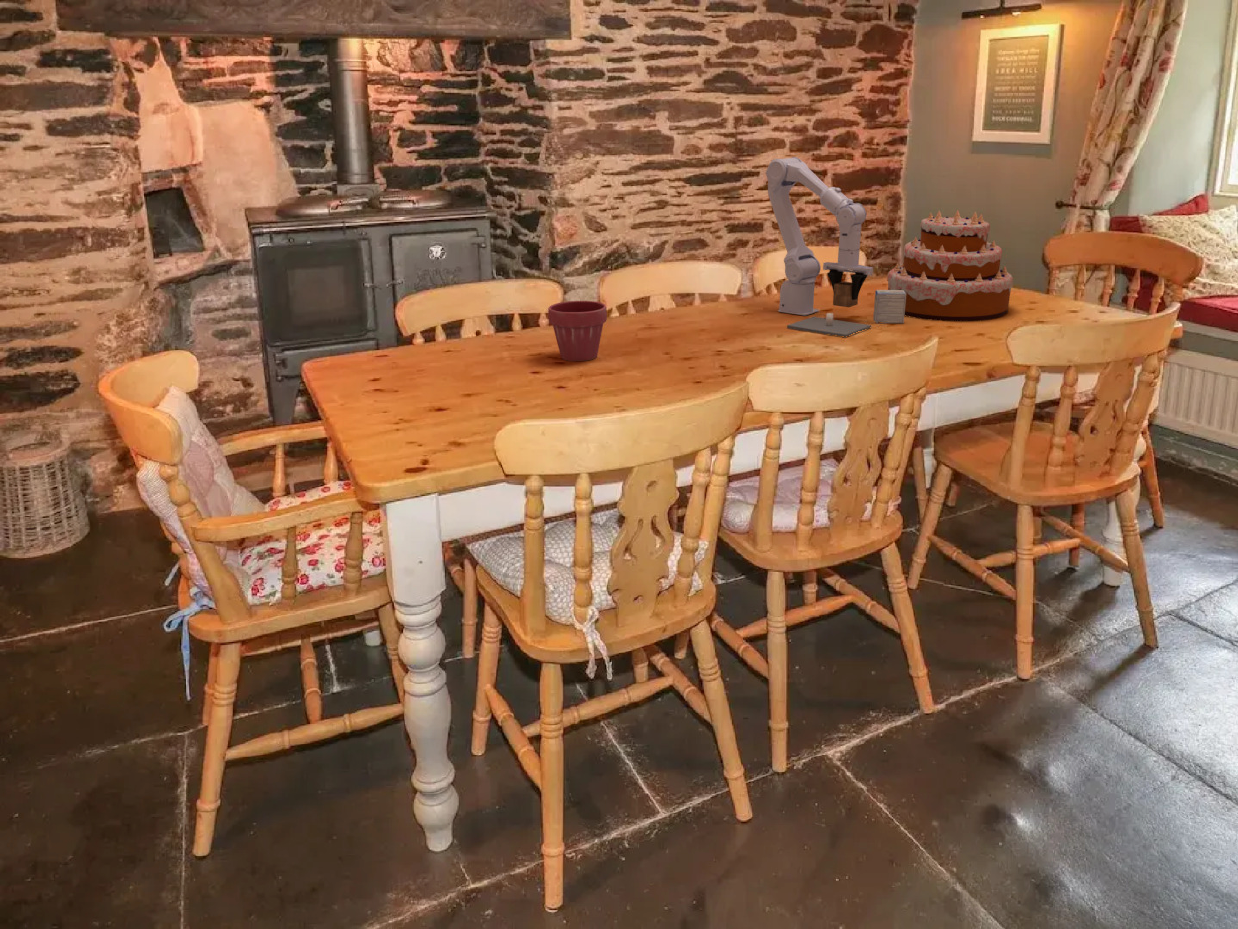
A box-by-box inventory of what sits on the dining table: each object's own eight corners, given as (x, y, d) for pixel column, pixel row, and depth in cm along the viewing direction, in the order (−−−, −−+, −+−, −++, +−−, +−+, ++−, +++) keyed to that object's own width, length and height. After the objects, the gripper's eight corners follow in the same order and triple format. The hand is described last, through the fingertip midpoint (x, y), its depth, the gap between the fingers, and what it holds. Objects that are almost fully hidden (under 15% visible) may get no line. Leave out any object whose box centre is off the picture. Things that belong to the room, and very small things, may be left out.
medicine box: (901, 320, 283) (904, 289, 280) (903, 323, 279) (906, 292, 276) (872, 320, 284) (875, 289, 281) (875, 323, 280) (877, 292, 277)
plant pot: (540, 361, 246) (538, 309, 242) (563, 348, 259) (562, 298, 254) (594, 366, 242) (593, 313, 237) (615, 352, 254) (614, 302, 249)
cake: (986, 296, 313) (997, 205, 303) (1027, 321, 280) (1040, 219, 270) (873, 297, 314) (880, 206, 304) (901, 322, 281) (910, 221, 271)
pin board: (787, 328, 276) (787, 313, 274) (813, 319, 286) (814, 305, 284) (845, 337, 265) (846, 322, 263) (871, 328, 275) (872, 313, 273)
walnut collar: (832, 305, 283) (834, 283, 281) (841, 302, 287) (843, 281, 285) (848, 307, 280) (850, 285, 278) (857, 304, 284) (859, 283, 282)
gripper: (818, 248, 280) (815, 296, 284) (865, 253, 271) (861, 303, 275) (831, 245, 285) (828, 293, 289) (878, 250, 276) (874, 299, 280)
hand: (845, 297), depth 283 cm, fingers closed on walnut collar, 5 cm apart
